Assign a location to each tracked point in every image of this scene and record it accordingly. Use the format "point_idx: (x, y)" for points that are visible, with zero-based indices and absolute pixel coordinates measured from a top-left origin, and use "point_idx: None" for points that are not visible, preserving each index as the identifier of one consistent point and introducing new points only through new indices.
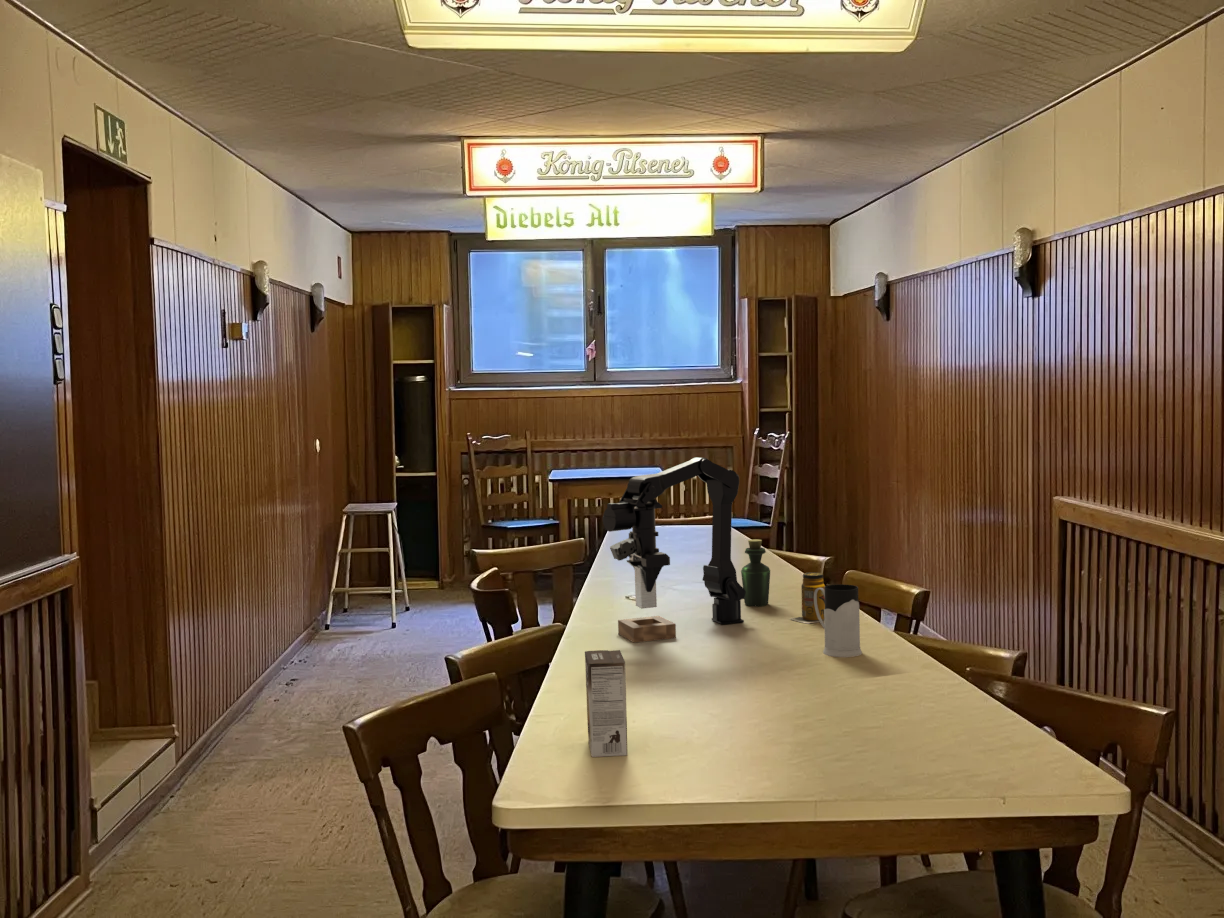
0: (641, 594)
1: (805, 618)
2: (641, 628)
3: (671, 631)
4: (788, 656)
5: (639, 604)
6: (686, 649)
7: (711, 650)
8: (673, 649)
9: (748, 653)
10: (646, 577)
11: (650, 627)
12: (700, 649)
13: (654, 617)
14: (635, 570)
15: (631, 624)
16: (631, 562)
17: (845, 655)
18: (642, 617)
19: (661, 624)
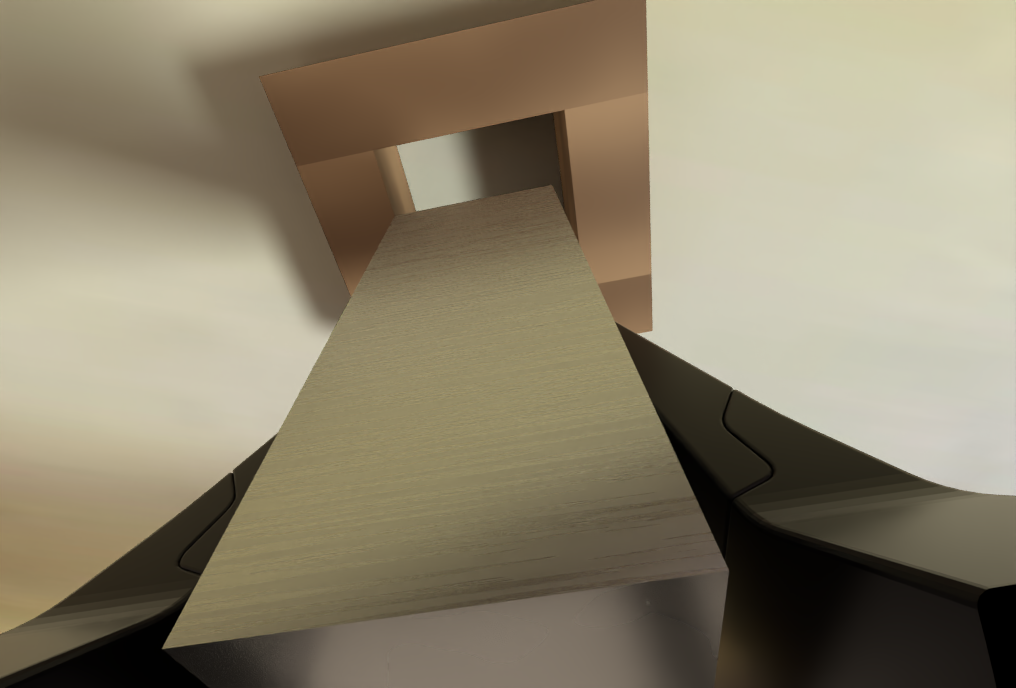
0: (365, 277)
1: None
2: (294, 149)
3: None
4: (66, 589)
5: (443, 214)
6: (130, 334)
7: (123, 422)
8: (120, 276)
9: (89, 515)
10: (195, 512)
11: (321, 221)
12: (138, 388)
13: (612, 299)
14: (603, 464)
15: (417, 86)
16: (973, 661)
17: None
18: (647, 223)
19: None
